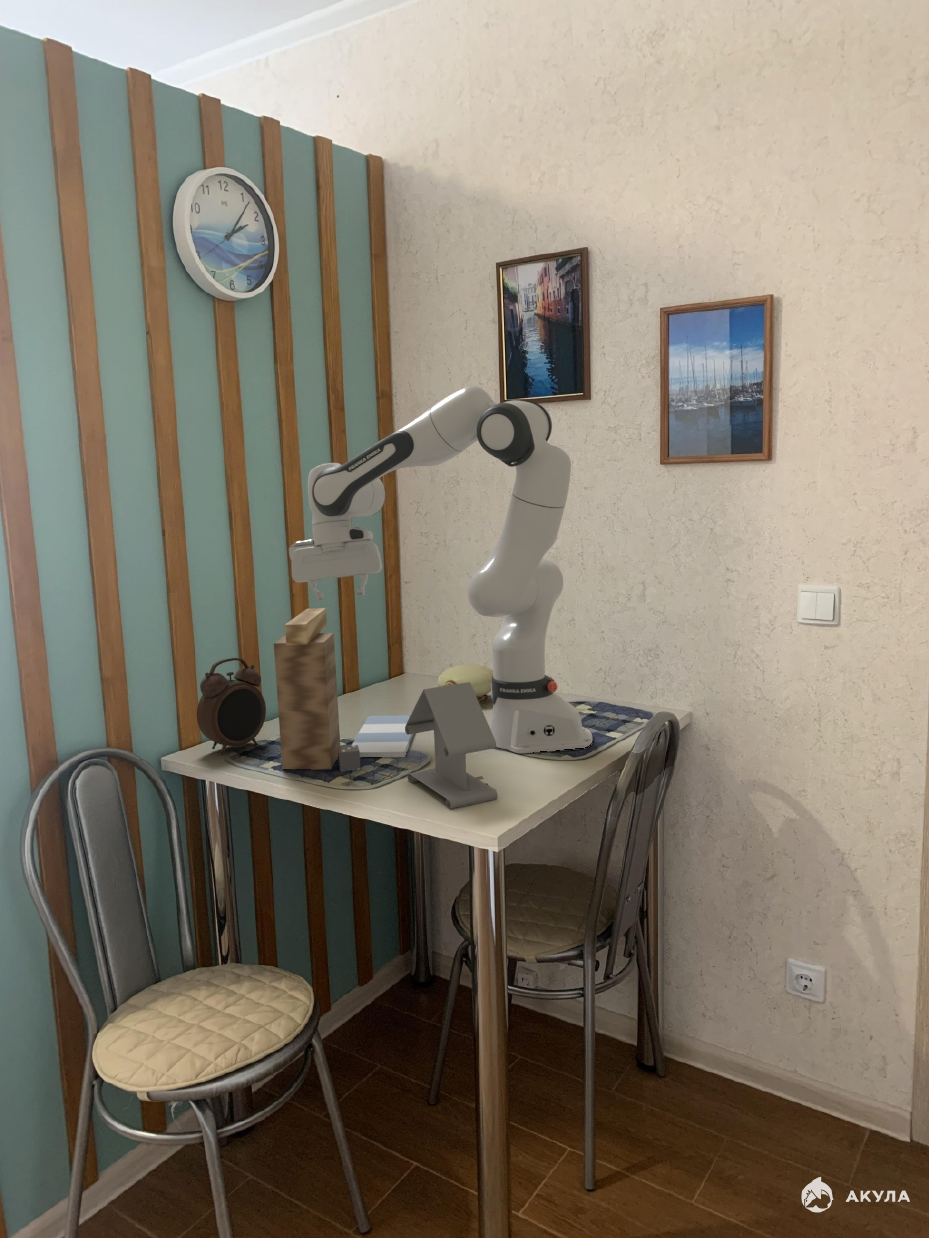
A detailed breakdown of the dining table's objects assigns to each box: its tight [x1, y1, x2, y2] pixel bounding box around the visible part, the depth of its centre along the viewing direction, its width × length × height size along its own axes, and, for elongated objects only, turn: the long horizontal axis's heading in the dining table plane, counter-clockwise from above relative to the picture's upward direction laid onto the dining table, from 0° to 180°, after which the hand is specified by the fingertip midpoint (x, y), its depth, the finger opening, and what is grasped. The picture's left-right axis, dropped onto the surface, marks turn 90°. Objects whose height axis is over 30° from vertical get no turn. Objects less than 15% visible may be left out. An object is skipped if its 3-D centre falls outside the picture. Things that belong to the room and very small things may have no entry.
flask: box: [437, 663, 493, 703], centre depth 237 cm, size 9×16×18 cm
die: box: [338, 745, 361, 771], centre depth 189 cm, size 4×4×4 cm
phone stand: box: [405, 682, 498, 810], centre depth 173 cm, size 18×10×20 cm, turn 28°
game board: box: [350, 714, 414, 758], centre depth 209 cm, size 12×28×1 cm, turn 177°
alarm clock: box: [196, 657, 267, 755], centre depth 203 cm, size 14×7×20 cm, turn 138°
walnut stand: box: [273, 632, 341, 771], centre depth 192 cm, size 10×10×26 cm
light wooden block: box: [284, 607, 328, 645], centre depth 192 cm, size 4×20×4 cm, turn 177°
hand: (340, 597), depth 212 cm, fingers open, 8 cm apart
